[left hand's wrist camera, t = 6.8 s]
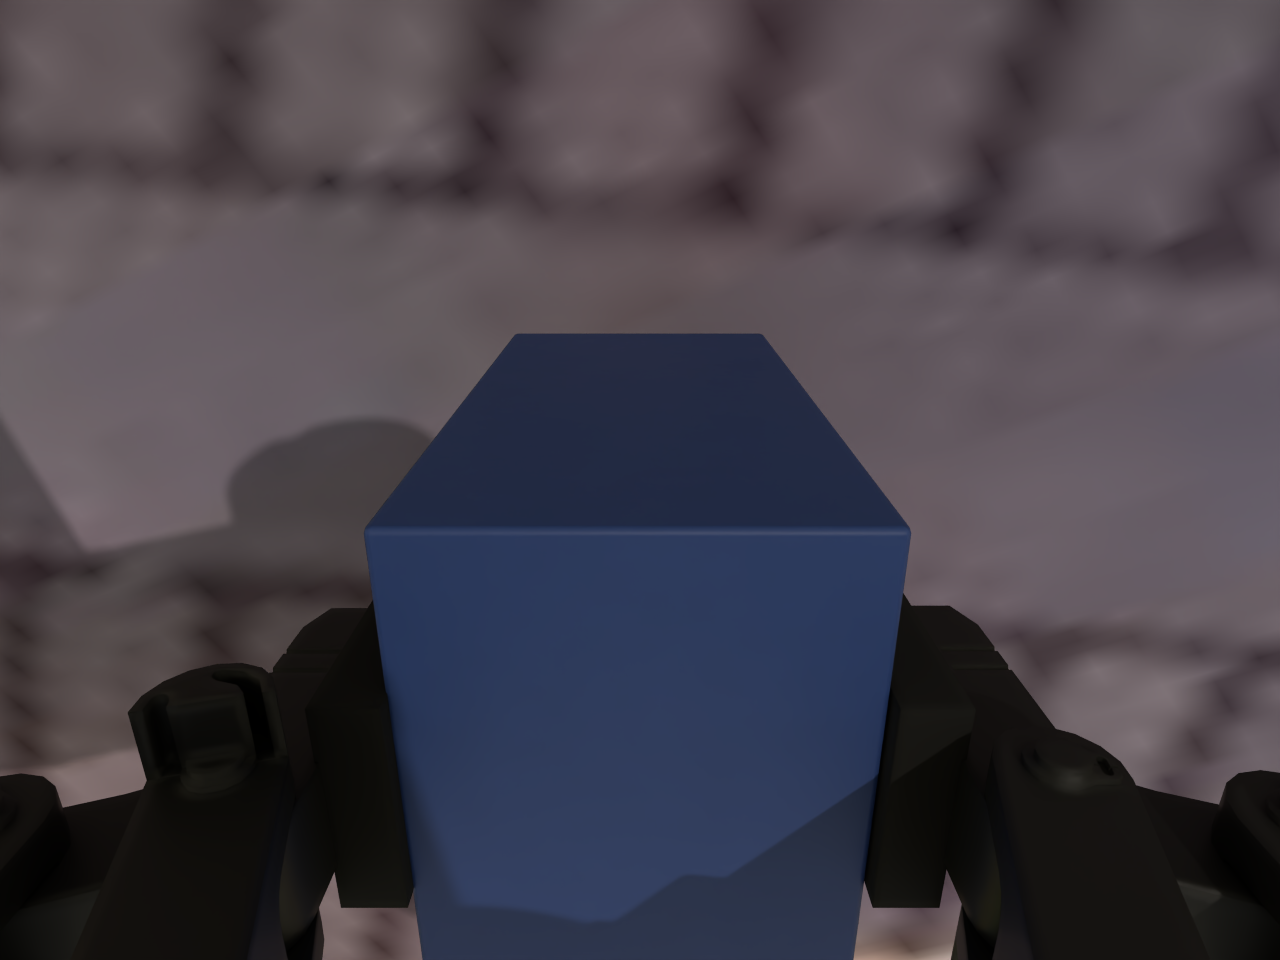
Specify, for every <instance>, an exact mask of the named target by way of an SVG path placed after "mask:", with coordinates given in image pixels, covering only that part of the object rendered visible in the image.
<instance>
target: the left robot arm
mask: <svg viewBox="0 0 1280 960" xmlns="http://www.w3.org/2000/svg"><path fill="white" fill-rule="evenodd" d="M128 715H129V719H130V722H131V726H132V730H133V733H134V737H135V740H136V744H137V747H138V751H139V754H140V758H141V762H142V765H143V769H144V772H145V776H146V779H147V781H146V784H145V786H144V788H143V789H142V790H138V791H135V792H131V793H128V794H124V795H119V796H115V797H110V798H106V799H101V800H96V801H92V802H87V803H83V804H78V805H74V806H69V807H64V808H63V807H62V804H61V801H60V798H59V795H58V792H57V790H56V787H55V786H54V785H53V784H52V783H51V782H49V781H48V780H47V779H46V778H44V777H43V776H35V775H28V774H15V775H7V776H0V960H322V956H323V947H324V934H323V927H322V921H321V916H320V911H319V906H320V904H321V901H322V899H323V897H324V895H325V892H326V890H327V888H328V885H329V883H330V881H331V879H332V876H333V874H334V872H335V877H336V882H337V888H338V893H339V899H340V904H341V908H408V905H409V902H410V899H411V896H412V893H413V889H414V885H413V878H412V870H411V863H410V856H409V848H408V841H407V834H406V827H405V819H404V812H403V805H402V797H401V790H400V783H399V776H398V768H397V761H396V754H395V746H394V739H393V732H392V725H391V717H390V710H389V703H388V695H387V693H386V690H385V683H384V676H383V668H382V661H381V654H380V647H379V639H378V632H377V625H376V618H375V610H374V603H373V601H372V602H371V604H370V605H369V607H368V608H331V609H330V610H328V611H327V612H325V613H324V614H322V615H321V616H319V617H318V618H316V619H315V620H313V621H312V622H310V623H309V624H307V625H306V626H304V627H303V628H302V630H301V631H300V632H299V634H298V635H297V636H296V638H295V639H294V640H293V642H292V643H291V644H290V646H289V647H288V648H287V653H286V654H283V655H282V656H281V658H280V659H279V661H278V662H277V663H276V665H275V666H274V667H273V673H268V672H267V671H265V670H264V669H263V668H261V667H257V666H253V665H248V664H244V663H233V664H216V665H211V666H207V667H203V668H198V669H194V670H190V671H187V672H185V673H183V674H180V675H178V676H175V677H173V678H171V679H168V680H166V681H164V682H162V683H160V684H159V685H157V686H156V687H154V688H153V689H151V690H150V691H148V692H147V693H145V694H144V695H143V696H141V697H140V699H139V700H138V701H137V702H136V703H135V704H134V706H133V707H132V708H131V709H130V710H129V712H128ZM946 869H947V871H948V873H949V876H950V878H951V880H952V882H953V885H954V887H955V889H956V892H957V894H958V896H959V898H960V901H961V903H962V906H961V911H960V916H959V921H958V926H957V931H956V936H955V941H954V946H953V951H952V956H951V960H1280V773H1277V772H1270V771H1263V770H1259V771H1251V772H1244V773H1238V774H1237V775H1236V776H1235V777H1233V778H1232V779H1231V780H1229V781H1228V782H1227V783H1226V786H1225V789H1224V792H1223V795H1222V798H1221V801H1220V804H1219V805H1218V804H1214V803H1209V802H1204V801H1200V800H1195V799H1191V798H1186V797H1181V796H1177V795H1172V794H1167V793H1163V792H1158V791H1154V790H1151V789H1147V788H1144V787H1140V786H1136V785H1135V782H1134V780H1133V778H1132V777H1131V776H1130V774H1129V773H1128V771H1127V770H1126V769H1125V767H1124V766H1123V764H1122V763H1121V762H1120V761H1119V760H1118V759H1116V758H1115V757H1114V756H1112V755H1111V754H1110V753H1108V752H1107V751H1106V750H1105V749H1103V748H1102V747H1101V746H1099V745H1097V744H1095V743H1093V742H1091V741H1088V740H1086V739H1084V738H1082V737H1080V736H1078V735H1076V734H1073V733H1069V732H1065V731H1062V730H1058V729H1055V727H1054V726H1053V725H1052V723H1051V722H1050V721H1049V719H1048V718H1047V717H1046V715H1045V714H1044V713H1043V711H1042V710H1041V709H1040V707H1039V706H1038V705H1037V703H1036V702H1035V700H1034V699H1033V698H1032V696H1031V695H1030V694H1029V692H1028V691H1027V690H1026V688H1025V687H1024V686H1023V684H1022V683H1021V682H1020V680H1019V679H1018V678H1017V676H1016V675H1015V674H1014V672H1013V671H1012V670H1008V664H1007V663H1006V662H1005V660H1004V659H1003V658H1002V656H1001V655H1000V654H999V652H998V651H995V650H994V646H993V644H992V643H991V642H990V640H989V639H988V638H987V636H986V635H985V634H984V632H983V631H982V630H981V628H980V627H979V626H978V625H977V624H976V623H974V622H973V621H971V620H970V619H968V618H967V617H965V616H964V615H962V614H961V613H959V612H958V611H956V610H955V609H953V608H952V607H950V606H911V605H910V603H909V601H908V600H907V598H906V597H905V595H904V593H903V597H902V604H901V612H900V619H899V626H898V634H897V641H896V648H895V656H894V663H893V671H892V678H891V685H890V693H889V700H888V707H887V715H886V722H885V730H884V737H883V744H882V752H881V759H880V767H879V774H878V781H877V789H876V796H875V803H874V811H873V818H872V826H871V833H870V840H869V848H868V855H867V862H866V870H865V877H864V882H865V885H866V888H867V891H868V894H869V897H870V901H871V904H872V907H873V908H939V907H940V902H941V896H942V891H943V885H944V880H945V874H946Z"/></svg>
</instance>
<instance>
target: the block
mask: <svg viewBox="0 0 1280 960" xmlns="http://www.w3.org/2000/svg"><path fill="white" fill-rule="evenodd" d="M364 538H365V545H366V552H367V560H368V567H369V574H370V581H371V589H372V596H373V603H374V610H375V618H376V625H377V632H378V639H379V647H380V654H381V661H382V668H383V676H384V683H385V690H386V693H387V695H388V703H389V710H390V717H391V725H392V732H393V739H394V746H395V754H396V761H397V768H398V776H399V783H400V790H401V797H402V805H403V812H404V819H405V827H406V834H407V841H408V848H409V856H410V863H411V870H412V878H413V885H414V889H413V893H414V900H415V908H416V915H417V922H418V929H419V937H420V944H421V951H422V958H423V960H853V958H854V951H855V944H856V936H857V929H858V921H859V914H860V907H861V899H862V892H863V885H864V877H865V870H866V862H867V855H868V848H869V840H870V833H871V826H872V818H873V811H874V803H875V796H876V789H877V781H878V774H879V767H880V759H881V752H882V744H883V737H884V730H885V722H886V715H887V707H888V700H889V693H890V685H891V678H892V671H893V663H894V656H895V648H896V641H897V634H898V626H899V619H900V612H901V604H902V597H903V589H904V582H905V575H906V567H907V560H908V553H909V545H910V538H911V531H910V528H909V526H908V525H907V524H906V522H905V521H904V520H903V518H902V517H901V516H900V514H899V513H898V512H897V510H896V509H895V508H894V507H893V505H892V504H891V503H890V501H889V500H888V499H887V497H886V496H885V495H884V493H883V492H882V491H881V489H880V488H879V487H878V486H877V484H876V483H875V482H874V480H873V479H872V478H871V476H870V475H869V474H868V472H867V471H866V470H865V468H864V467H863V466H862V465H861V463H860V462H859V461H858V459H857V458H856V457H855V455H854V454H853V453H852V451H851V450H850V449H849V447H848V446H847V445H846V444H845V442H844V441H843V440H842V438H841V437H840V436H839V434H838V433H837V432H836V430H835V429H834V428H833V427H832V425H831V424H830V423H829V421H828V420H827V419H826V417H825V416H824V415H823V413H822V412H821V411H820V409H819V408H818V407H817V406H816V404H815V403H814V402H813V400H812V399H811V398H810V396H809V395H808V394H807V392H806V391H805V390H804V388H803V387H802V386H801V385H800V383H799V382H798V381H797V379H796V378H795V377H794V375H793V374H792V373H791V371H790V370H789V369H788V367H787V366H786V365H785V364H784V362H783V361H782V360H781V358H780V357H779V356H778V354H777V353H776V352H775V350H774V349H773V348H772V346H771V345H770V344H769V343H768V341H767V340H766V339H765V337H764V336H763V335H762V334H516V335H515V336H514V337H513V338H512V339H511V341H510V342H509V343H508V345H507V346H506V347H505V348H504V350H503V351H502V352H501V354H500V355H499V356H498V357H497V359H496V360H495V361H494V363H493V364H492V365H491V366H490V368H489V369H488V370H487V372H486V373H485V374H484V375H483V377H482V378H481V379H480V381H479V382H478V383H477V384H476V386H475V387H474V388H473V390H472V391H471V392H470V393H469V395H468V396H467V397H466V399H465V400H464V401H463V403H462V404H461V405H460V406H459V408H458V409H457V410H456V412H455V413H454V414H453V415H452V417H451V418H450V419H449V421H448V422H447V423H446V424H445V426H444V427H443V428H442V430H441V431H440V432H439V433H438V435H437V436H436V437H435V439H434V440H433V441H432V442H431V444H430V445H429V446H428V448H427V449H426V450H425V451H424V453H423V454H422V455H421V457H420V458H419V459H418V460H417V462H416V463H415V464H414V466H413V467H412V468H411V469H410V471H409V472H408V473H407V475H406V476H405V477H404V479H403V480H402V481H401V482H400V484H399V485H398V486H397V488H396V489H395V490H394V491H393V493H392V494H391V495H390V497H389V498H388V499H387V500H386V502H385V503H384V504H383V506H382V507H381V508H380V509H379V511H378V512H377V513H376V515H375V516H374V517H373V518H372V520H371V521H370V522H369V524H368V525H367V526H366V528H365V531H364Z"/></svg>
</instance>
